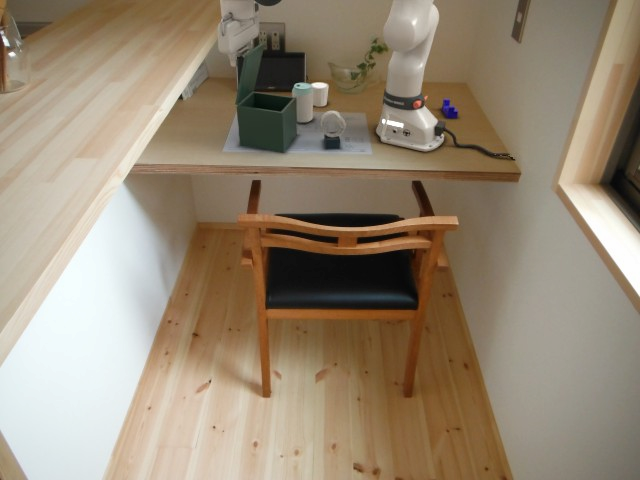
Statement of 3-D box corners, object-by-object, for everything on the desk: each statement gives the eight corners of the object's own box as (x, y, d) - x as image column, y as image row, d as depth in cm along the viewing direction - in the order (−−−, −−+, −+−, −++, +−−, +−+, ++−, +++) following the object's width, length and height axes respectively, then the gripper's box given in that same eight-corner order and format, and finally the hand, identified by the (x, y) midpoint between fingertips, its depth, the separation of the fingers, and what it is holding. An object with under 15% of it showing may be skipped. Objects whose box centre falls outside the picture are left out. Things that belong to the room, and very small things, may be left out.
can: (294, 124, 157) (293, 90, 150) (291, 116, 163) (290, 82, 155) (314, 123, 159) (315, 88, 151) (310, 114, 164) (310, 81, 156)
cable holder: (456, 118, 165) (459, 107, 162) (447, 118, 164) (449, 107, 162) (450, 109, 171) (453, 98, 168) (441, 109, 171) (443, 98, 168)
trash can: (296, 135, 151) (296, 97, 143) (283, 152, 142) (282, 113, 134) (255, 128, 154) (253, 91, 146) (240, 145, 145) (236, 106, 137)
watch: (345, 148, 145) (347, 115, 138) (320, 149, 144) (321, 115, 137) (343, 140, 149) (345, 107, 142) (318, 141, 148) (319, 108, 141)
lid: (264, 43, 136) (249, 36, 136) (247, 55, 126) (231, 48, 126) (254, 90, 146) (239, 84, 146) (237, 105, 136) (222, 98, 136)
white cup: (331, 102, 173) (332, 84, 169) (321, 108, 168) (322, 89, 164) (316, 98, 176) (316, 80, 171) (306, 104, 171) (306, 85, 167)
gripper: (231, 19, 117) (236, 73, 126) (261, 2, 133) (264, 52, 141) (208, 16, 118) (215, 71, 127) (241, 0, 134) (245, 50, 143)
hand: (241, 61), depth 134 cm, fingers open, 8 cm apart
